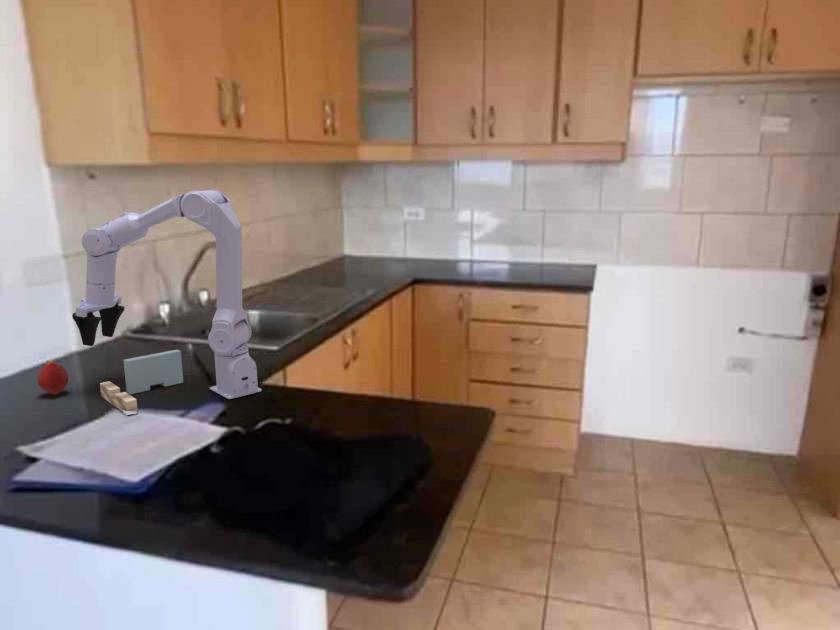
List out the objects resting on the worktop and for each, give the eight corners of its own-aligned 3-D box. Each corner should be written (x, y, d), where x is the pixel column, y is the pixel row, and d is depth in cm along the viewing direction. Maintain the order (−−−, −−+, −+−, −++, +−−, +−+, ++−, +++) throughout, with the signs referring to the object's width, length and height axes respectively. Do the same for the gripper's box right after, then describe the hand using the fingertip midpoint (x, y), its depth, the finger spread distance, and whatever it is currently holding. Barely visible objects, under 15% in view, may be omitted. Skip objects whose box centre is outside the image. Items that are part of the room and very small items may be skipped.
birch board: (137, 413, 129) (136, 399, 129) (127, 416, 128) (126, 402, 127) (110, 394, 141) (109, 381, 140) (101, 396, 139) (99, 383, 139)
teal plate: (183, 382, 148) (180, 351, 147) (130, 394, 140) (126, 361, 139) (179, 380, 150) (177, 349, 148) (126, 392, 142) (123, 359, 140)
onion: (63, 388, 144) (59, 354, 143) (74, 394, 141) (70, 359, 139) (35, 395, 140) (30, 360, 138) (46, 401, 136) (41, 365, 135)
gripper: (101, 273, 149) (99, 329, 152) (62, 284, 134) (60, 346, 138) (131, 278, 148) (128, 334, 151) (94, 290, 134) (92, 351, 137)
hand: (98, 340), depth 145 cm, fingers open, 7 cm apart
